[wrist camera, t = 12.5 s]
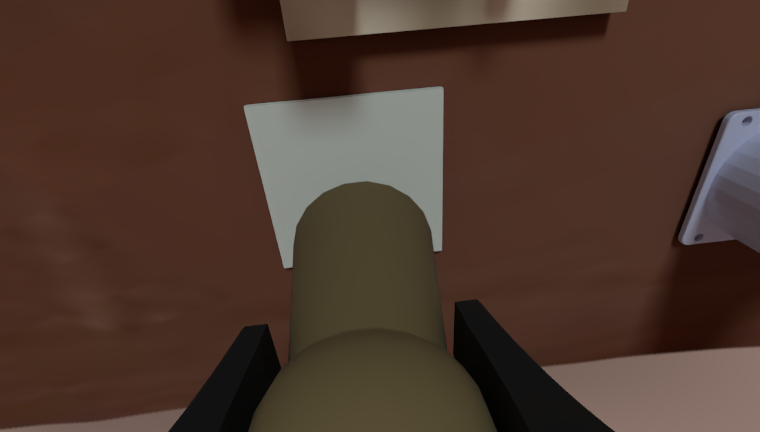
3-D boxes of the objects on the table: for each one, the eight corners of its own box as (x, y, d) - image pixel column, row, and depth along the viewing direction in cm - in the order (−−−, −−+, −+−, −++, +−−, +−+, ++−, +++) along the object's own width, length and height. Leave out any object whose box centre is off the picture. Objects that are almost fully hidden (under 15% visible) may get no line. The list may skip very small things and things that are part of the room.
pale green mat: (441, 86, 17) (443, 88, 17) (440, 246, 22) (441, 250, 21) (245, 105, 17) (243, 107, 17) (285, 264, 21) (284, 268, 21)
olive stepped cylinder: (345, 325, 18) (333, 671, 8) (264, 230, 16) (101, 538, 6) (456, 263, 17) (605, 567, 7) (385, 152, 15) (451, 358, 5)
